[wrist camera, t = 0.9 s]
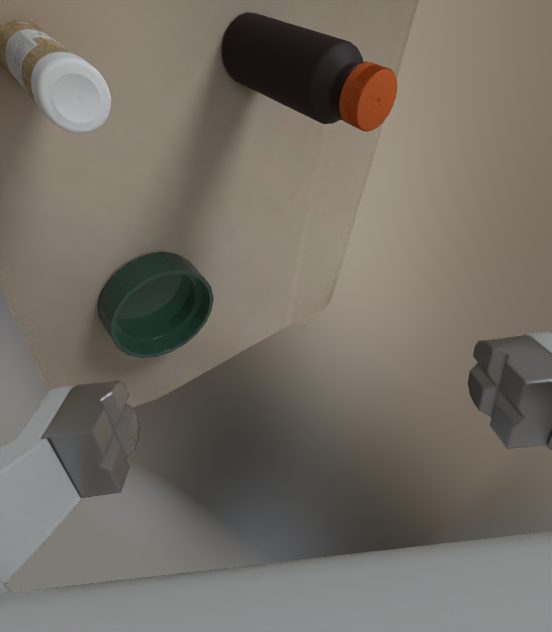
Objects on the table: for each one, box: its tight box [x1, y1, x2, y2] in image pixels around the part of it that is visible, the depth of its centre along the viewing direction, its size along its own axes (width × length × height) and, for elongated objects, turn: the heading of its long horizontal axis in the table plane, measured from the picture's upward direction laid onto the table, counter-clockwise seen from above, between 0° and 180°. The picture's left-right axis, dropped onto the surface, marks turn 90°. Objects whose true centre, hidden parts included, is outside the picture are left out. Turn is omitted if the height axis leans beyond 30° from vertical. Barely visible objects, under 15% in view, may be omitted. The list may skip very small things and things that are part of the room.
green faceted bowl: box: [99, 253, 213, 358], centre depth 55 cm, size 15×15×5 cm
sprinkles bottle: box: [0, 21, 111, 134], centre depth 29 cm, size 5×5×13 cm
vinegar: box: [223, 13, 397, 131], centre depth 38 cm, size 7×7×20 cm
